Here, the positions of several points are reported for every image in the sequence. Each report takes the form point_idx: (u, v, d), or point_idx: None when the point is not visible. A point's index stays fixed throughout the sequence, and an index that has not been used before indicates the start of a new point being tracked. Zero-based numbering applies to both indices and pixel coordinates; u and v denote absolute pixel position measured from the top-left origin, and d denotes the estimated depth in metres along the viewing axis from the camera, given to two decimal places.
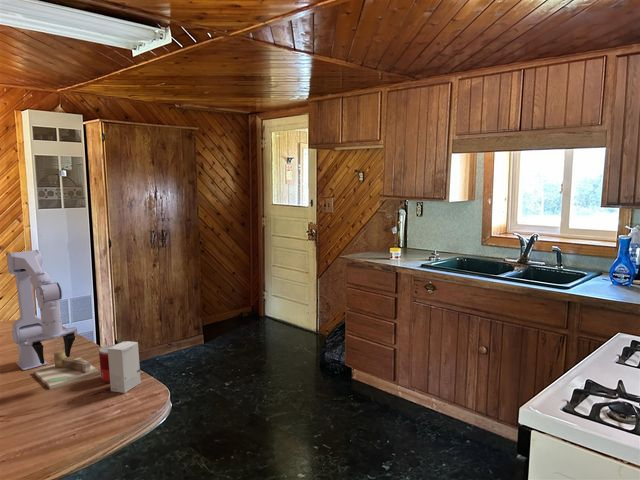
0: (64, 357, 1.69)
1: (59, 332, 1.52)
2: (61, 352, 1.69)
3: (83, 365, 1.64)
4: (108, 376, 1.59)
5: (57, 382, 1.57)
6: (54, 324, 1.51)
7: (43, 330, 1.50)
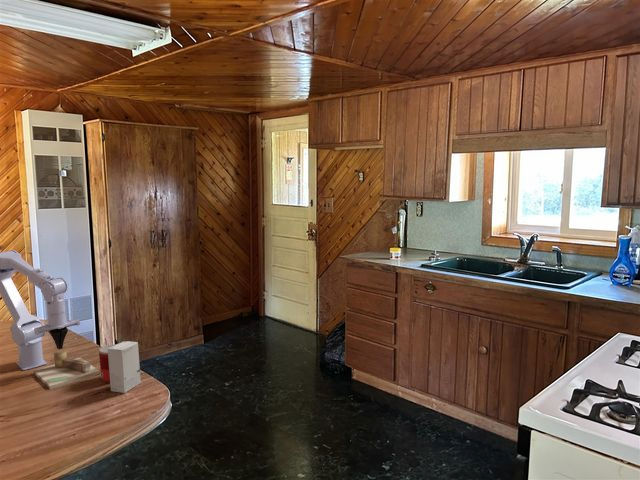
0: (64, 357, 1.69)
1: (63, 323, 1.67)
2: (61, 352, 1.69)
3: (83, 365, 1.64)
4: (108, 376, 1.59)
5: (57, 382, 1.57)
6: (59, 316, 1.65)
7: (49, 321, 1.65)
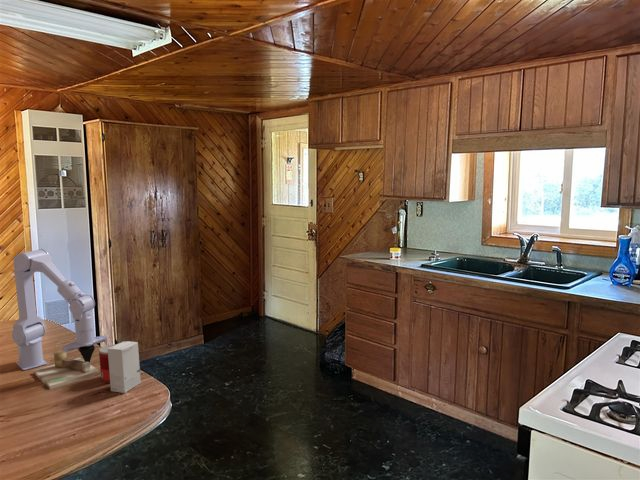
0: (64, 357, 1.69)
1: (91, 340, 1.66)
2: (61, 352, 1.69)
3: (83, 365, 1.64)
4: (108, 376, 1.59)
5: (57, 382, 1.57)
6: (87, 333, 1.64)
7: (77, 339, 1.64)
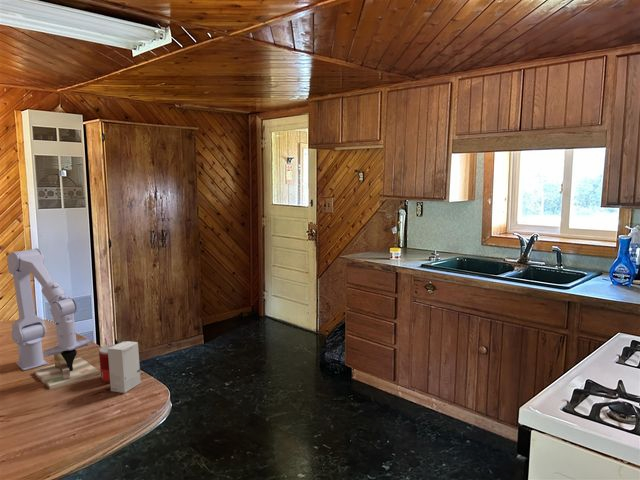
0: (61, 358, 1.68)
1: (74, 344, 1.61)
2: None
3: (62, 371, 1.59)
4: (108, 376, 1.59)
5: (57, 382, 1.57)
6: (69, 337, 1.60)
7: (58, 343, 1.59)
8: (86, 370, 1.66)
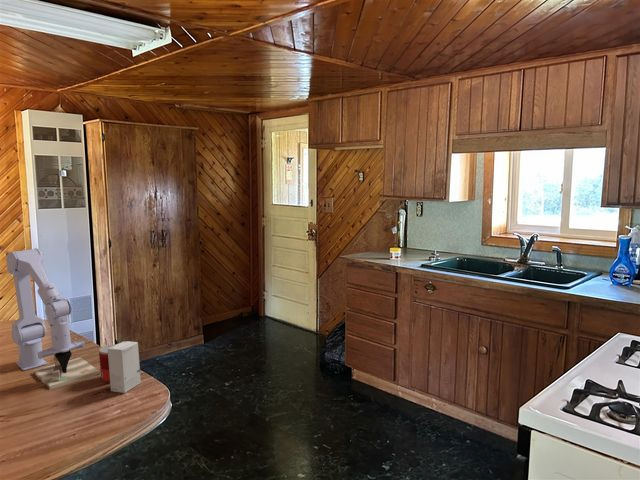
0: None
1: (68, 346, 1.60)
2: None
3: None
4: (108, 376, 1.59)
5: (57, 382, 1.57)
6: (64, 339, 1.59)
7: (53, 344, 1.58)
8: (86, 370, 1.66)
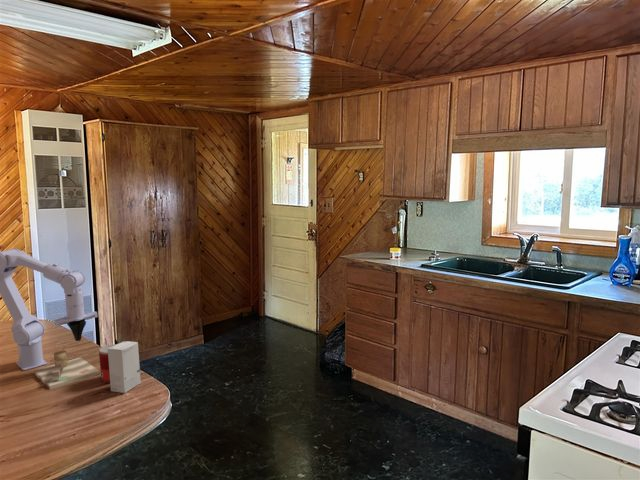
0: (59, 358, 1.68)
1: (82, 315, 1.70)
2: (60, 352, 1.69)
3: None
4: (108, 376, 1.59)
5: (57, 382, 1.57)
6: (78, 308, 1.69)
7: (67, 313, 1.68)
8: (86, 370, 1.66)
